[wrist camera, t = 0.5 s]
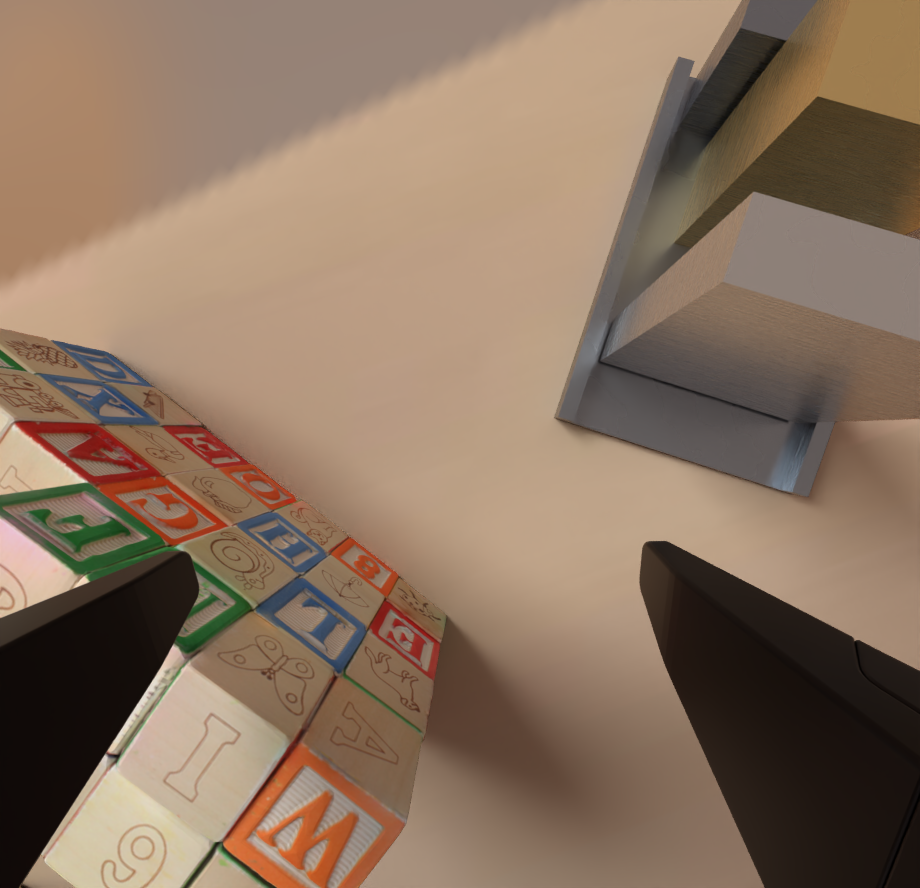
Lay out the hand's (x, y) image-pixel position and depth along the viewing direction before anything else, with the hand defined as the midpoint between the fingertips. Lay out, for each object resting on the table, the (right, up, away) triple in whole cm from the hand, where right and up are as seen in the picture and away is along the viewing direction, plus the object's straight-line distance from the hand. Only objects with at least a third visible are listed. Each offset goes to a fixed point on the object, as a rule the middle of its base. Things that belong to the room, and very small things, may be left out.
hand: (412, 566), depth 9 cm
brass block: (+14, +13, +11) cm, 22 cm away
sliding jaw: (+12, +6, +12) cm, 18 cm away
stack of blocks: (-10, -2, +14) cm, 17 cm away
